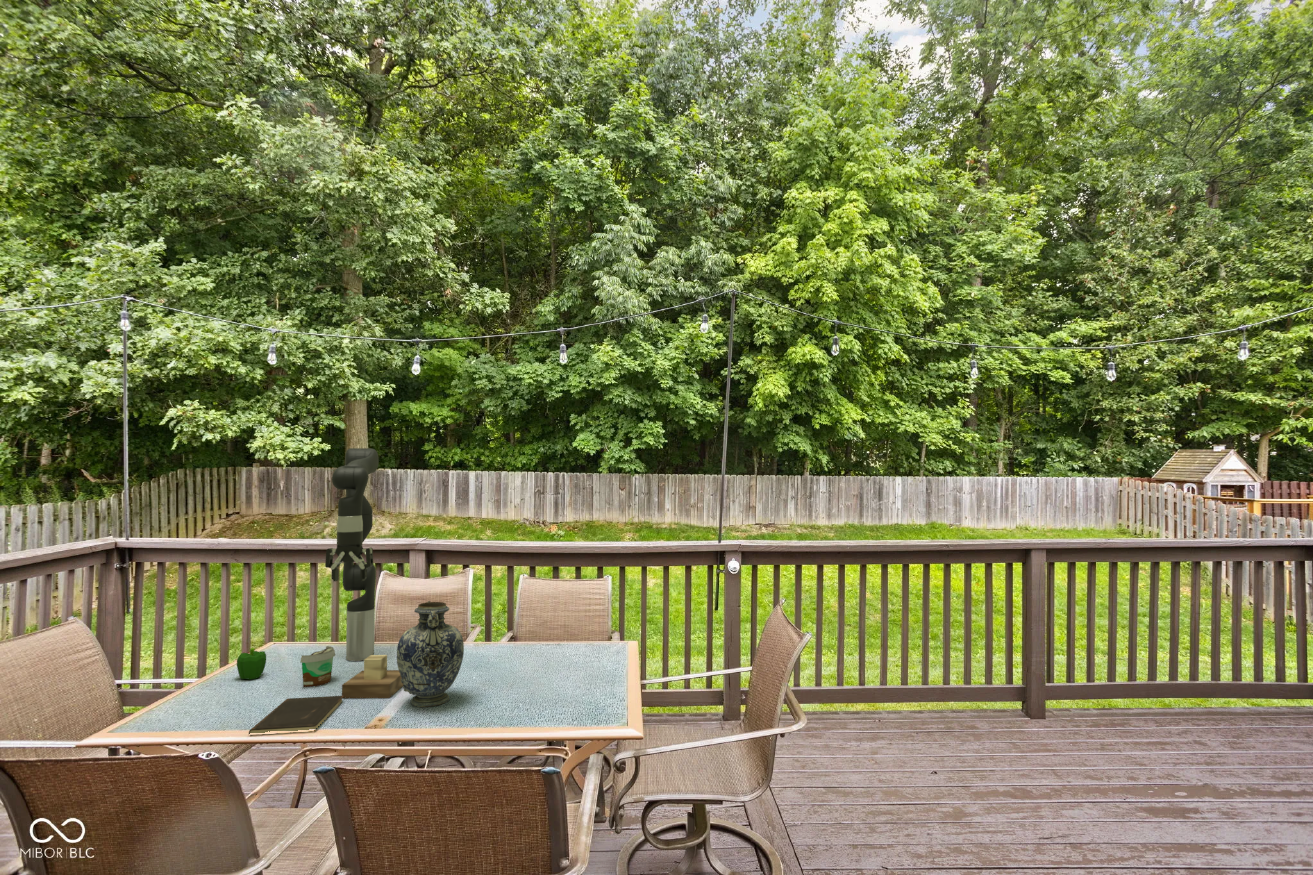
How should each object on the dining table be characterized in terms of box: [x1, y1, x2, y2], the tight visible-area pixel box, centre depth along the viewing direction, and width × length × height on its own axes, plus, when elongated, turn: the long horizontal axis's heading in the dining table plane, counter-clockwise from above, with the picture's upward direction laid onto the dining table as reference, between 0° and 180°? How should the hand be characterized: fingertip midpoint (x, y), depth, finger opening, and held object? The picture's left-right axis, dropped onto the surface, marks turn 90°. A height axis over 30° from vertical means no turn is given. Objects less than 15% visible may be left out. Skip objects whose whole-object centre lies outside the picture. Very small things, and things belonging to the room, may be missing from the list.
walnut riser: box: [341, 669, 403, 700], centre depth 205 cm, size 14×14×4 cm
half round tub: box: [300, 645, 336, 688], centre depth 213 cm, size 12×6×10 cm, turn 168°
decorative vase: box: [396, 600, 465, 708], centre depth 196 cm, size 21×19×28 cm
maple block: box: [363, 654, 388, 680], centre depth 205 cm, size 5×5×6 cm
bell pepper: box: [236, 647, 267, 680], centre depth 218 cm, size 8×8×10 cm
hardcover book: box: [248, 695, 344, 735], centre depth 183 cm, size 16×23×2 cm
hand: (349, 580), depth 214 cm, fingers open, 8 cm apart
